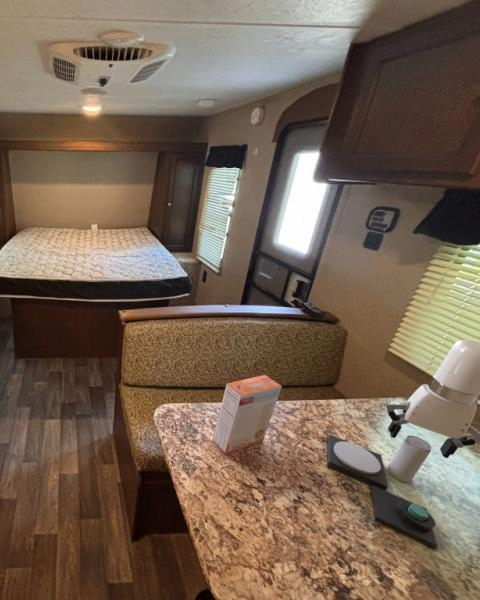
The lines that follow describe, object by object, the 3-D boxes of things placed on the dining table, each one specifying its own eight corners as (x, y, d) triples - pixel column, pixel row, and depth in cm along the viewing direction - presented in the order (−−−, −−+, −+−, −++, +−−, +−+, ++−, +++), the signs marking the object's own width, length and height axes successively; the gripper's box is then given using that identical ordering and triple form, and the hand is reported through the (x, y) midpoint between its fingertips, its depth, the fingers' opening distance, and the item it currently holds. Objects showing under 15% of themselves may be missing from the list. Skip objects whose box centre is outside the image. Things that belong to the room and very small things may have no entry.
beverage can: (386, 464, 88) (406, 431, 83) (410, 475, 85) (432, 442, 80) (385, 474, 85) (405, 441, 80) (410, 487, 82) (432, 453, 77)
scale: (378, 459, 89) (382, 452, 88) (384, 492, 80) (389, 484, 79) (326, 439, 95) (329, 432, 94) (326, 466, 86) (330, 459, 85)
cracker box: (247, 428, 98) (265, 373, 90) (263, 443, 93) (284, 386, 84) (210, 438, 94) (226, 381, 85) (224, 455, 88) (242, 396, 80)
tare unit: (423, 512, 76) (429, 504, 74) (434, 549, 68) (441, 541, 67) (369, 488, 81) (374, 480, 80) (374, 520, 73) (379, 512, 72)
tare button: (423, 513, 73) (426, 508, 72) (426, 524, 70) (430, 519, 70) (406, 505, 74) (409, 501, 74) (408, 515, 72) (411, 511, 71)
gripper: (501, 398, 72) (460, 451, 79) (400, 368, 81) (371, 419, 88) (516, 417, 66) (471, 473, 73) (405, 383, 75) (374, 436, 82)
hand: (416, 443), depth 80 cm, fingers open, 9 cm apart
